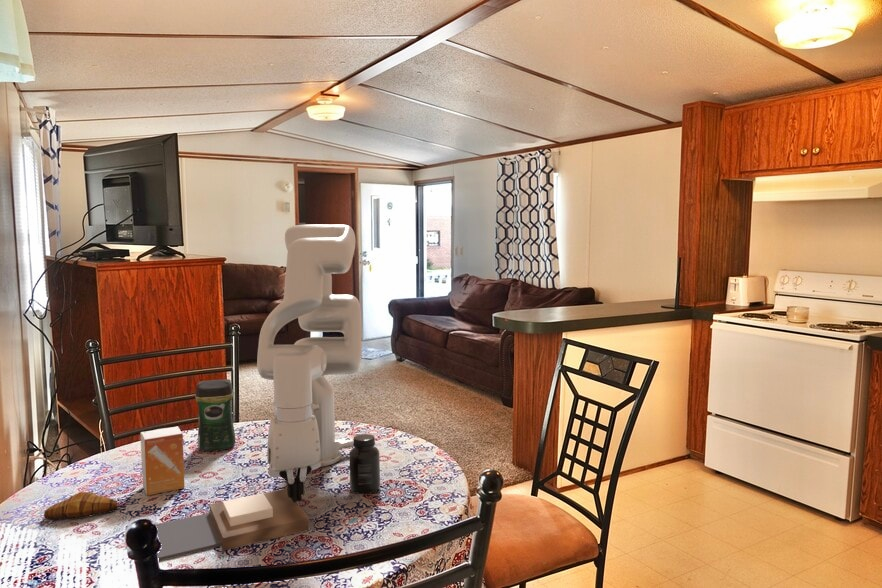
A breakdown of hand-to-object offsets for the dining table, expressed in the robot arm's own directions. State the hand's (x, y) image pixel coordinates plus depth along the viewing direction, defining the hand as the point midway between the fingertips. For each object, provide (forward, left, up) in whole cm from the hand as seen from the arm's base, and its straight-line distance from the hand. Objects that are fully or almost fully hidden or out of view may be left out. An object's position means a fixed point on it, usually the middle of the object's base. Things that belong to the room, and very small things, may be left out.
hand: (295, 499), depth 125 cm
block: (+10, 0, -1) cm, 10 cm away
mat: (+21, -1, -3) cm, 21 cm away
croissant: (+39, -22, -4) cm, 45 cm away
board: (+8, 0, -3) cm, 8 cm away
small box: (+23, -28, -4) cm, 36 cm away
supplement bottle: (-17, -5, -4) cm, 18 cm away
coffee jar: (+8, -50, -3) cm, 51 cm away
